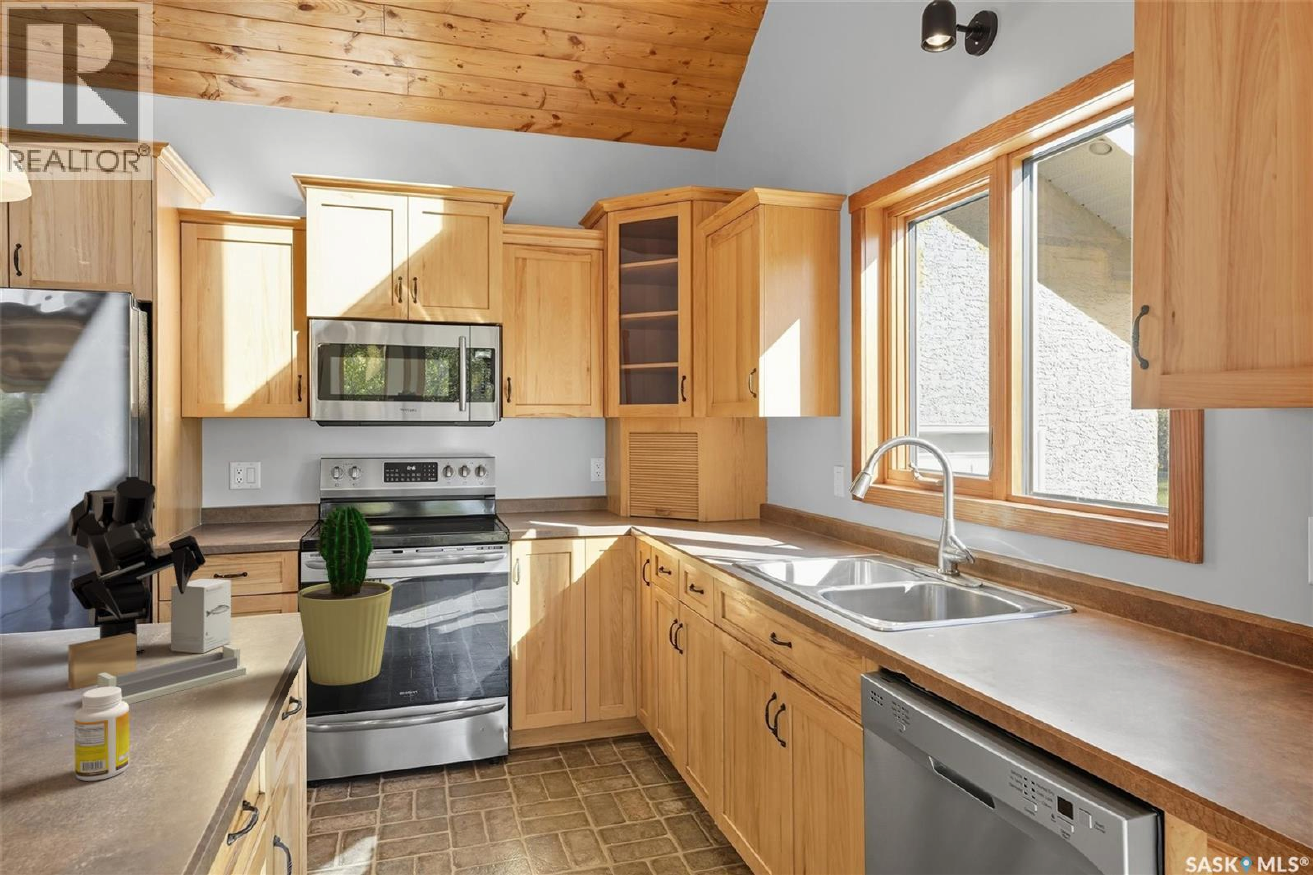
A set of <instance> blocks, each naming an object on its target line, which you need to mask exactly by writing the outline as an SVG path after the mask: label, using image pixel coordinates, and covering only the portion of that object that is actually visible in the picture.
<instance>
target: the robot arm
mask: <svg viewBox="0 0 1313 875" xmlns="http://www.w3.org/2000/svg"><path fill="white" fill-rule="evenodd" d="M155 495H156V485H154V484H152V483H150V482H149V481H146V480H143V479H140V478H139V476H125V477H124V480H123V481H121V482H119V483H118V484H117V485H116V488H115V490H112V489H98V490H97V489H95V490H94V489H93V490H92V489H91V490H89V491H85V492H84V495H83V499H82V500H80V501H79V502H78V503H77V504H76V505H75V506H73V507H72V508H70V512H69V516H68V523H67V532H68V533H67V534H68V536H69V537H71V538H72V540H73V542H74V544H75V545H76V546H77V547H80V548H83V549H85V550H87V552H88V554H89V558H90V560H91V563H92V566H93V569H94V571H91V572H87V573H85V574H83V575H80V576H77V577H75V578H72V580H71V581H70V583H69V584H70V589H71V591H72V593H73V595H74V596H75V597H76V599H77V600H78V601H79V603H80V605H81V606H82V608H83V609H84V610H88V622H89V623H90V624H91V625H92V626H93V627H98V626H99V639H102V638H107V637H112V636H118V635H123V634H128V633H132V634H134V635H136V654H139V653H144V652H146V649H145V648H144V647H141V646H139V645H138V620H142V619H143V620H147V619H148V617H150V607H151V600H152V597H153V593H152V592H150V590H149V587H148V586H147V585H146V586H145V583H144V579H145V578H148V577H149V576H153V575H154V574H159V573H160V572H162V571H164V570H166V569H169V568H172V567H173V569H174V574H175V581H176V584H177V586H178V588H179V591H180V593H181V594H184V592H185V589H186V586H187V584H188V582H189V580H190V579H191V577H192V575H193V574H194V572H196V571H198V570H199V568H200V567H201V566H204V565H205V564H206V559H205V556H204V554H203V551H202V549H201V547H200V545H199V543H198V541H197V539H196V537H195V536H193V535H186V536H184V537H181V538H179V539H176V540H173V541H171V542H168V545H169V548H170V550H171V552H170V551H169V553H166V554H164V555H163V554H162V555H161V556H157V553H156V550H155V547H154V544H153V542H152V538H155V537H156V536H157V534H156V531H155V528H154V526H153V524H152V522H151V518H152V513H153V510H154V509H155V508H156V505H155V501H154V500H155V497H156V496H155Z"/></svg>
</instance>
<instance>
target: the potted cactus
mask: <svg viewBox="0 0 1313 875" xmlns="http://www.w3.org/2000/svg"><path fill="white" fill-rule="evenodd" d="M359 507H360V505H356V506H353V505H348V506H342V505H339V506H337V507H335V506H333V508H331V510H332V511H330V512H329V513H328V512H327V511H326V518H325V517H324V516H322V517H323V518H322V521H323V523H322V522H321V521H319V520H318V521H319V522H320V523H321V524H320V523H319V526H320V527H321V528H320V530H321V531H320V532H319V533H317V532H316V536H315V537H316V538H314V539H317V535H318V537H319V540H318V541H317V542H315V543H314V546H315V547H316V548H314V549H313V550H315V551H317V554H316V557H315V558H318V557H319V556H320V557H321V558H322V560H323V561H325V562H324V563H323V561H322V562H321V564H323V568H325V569H326V570H324V572H322V575H325V576H327V578H324V580H328V583H321V584H316V585H311V586H308V587H305V588H303V589H301V590H299V591H298V592H297V599H298V600H297V601H298V609H299V615H300V621H301V627H302V635H303V640H304V647H305V653H306V661H307V667H308V674H309V675H308V676H309V677H310V681H312V682H313V683H314V684H318V685H322V686H323V685H324V686H345V685H346V686H348V685H353V684H357V683H362V682H367V681H368V680H372V679H373V678H376V677H377V676H379V673H380V671H381V666H382V659H383V653H384V646H385V639H386V633H387V626H388V622H389V614H390V607H391V602H392V596H393V595H392V593H393V590H394V587H393V585H391V584H389V583H385V582H380V581H373V580H372V581H371V580H365V579H366V577H371V576H369V575H368V574H367V570H368V569H371V570H373V568H372V567H370V566H368V564H369V563H372V561H369V560H370V558H369V557H370V555H371V554H373V555H375V556H376V553H375V551H376V549H374V546H373V543H375V540H372V539H373V538H371V535H373V534H376V533H377V532H378V531H374V532H370V529H372V526H370V525H371V523H369V524H368V522H366V521H367V520H366V518H368V517H370V514H368V515H365V516H364V515H363V513H364V512H363V511H364V510H362V511H360V510H361V507H360V508H359ZM377 541H378V540H376V542H377ZM374 553H375V554H374ZM317 556H318V557H317Z"/></svg>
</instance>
